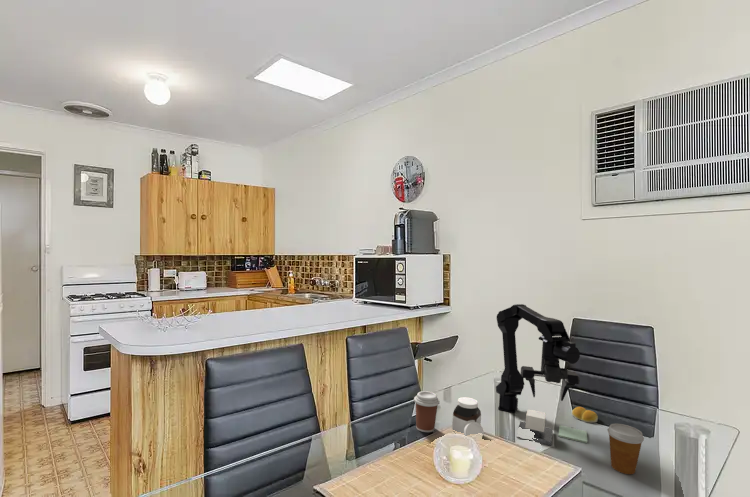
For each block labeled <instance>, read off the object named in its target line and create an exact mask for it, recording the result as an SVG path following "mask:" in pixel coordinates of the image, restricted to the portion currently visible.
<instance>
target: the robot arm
mask: <svg viewBox="0 0 750 497" xmlns="http://www.w3.org/2000/svg"><path fill="white" fill-rule="evenodd" d="M522 319H523V320H525V321H527V322H529V323H530V324H532V325H533V326H535V327H536V328H537V331H538V332H539V333H540V334H541V336H539V337H538V340H540V341H542V345H541V346H542V347H541V363H540V364H541V365H540V370H536V369H534V368H533V366H525V365H522V366H521V367H520V371H519V369H518V368H519V367H518V356H517V342H516V331H517V330H518V329H519V325H520V324H519V321H520V320H522ZM496 323H497V327H498V329H499V330H500V332H501V334H502V347H503V348H502V349H503V350H502V351H503V362H504V369H503V371H502V373H501V375H500V382H499V383H498V384H497V385H496V386H495V393H497V394H498V395H499V402H498V408H497V410H500V411H504V412H509V413H513V414H515V413H516V411H517V410H518V405H519V398H518V397H517V396H521V395H522V391H523V390H524V386H525V381H524V380H526V381H528V383H529V385H530V389H531V393H532V396H533V398H535V397H536V387H535V384H536V379H535V377H541V378H544V379H545V381H546V383H547V382H548V383H556V384H561V388H560V401H561V402H563V401H564V399H565V396H566V394H567V392H568V391H569V390H570V388H571V387H575V386H576V385H580V380H581V379H580V376H579V375H578V374H577V373H576V372H575V371H570V370H568V368H563V367H560V361H562V362H565V363H568V364H570V365H574V364H576V363H577V362H579V360H580V357H581V352H580V350H579V348H578V347H577V343H576V342H571V339H570V337H569V334H568V332H567V330H566V327H565V325H564V322H563V321H562V320H561V319H558V318H553V317H548V316H545V315H543V314H541V313H539V312H537V311H535V310H534V309H531V308H530V307H528V306H527V305H526V304H524V303H523V304H522V303H521V304H520V303H518V304H517V303H515V304H513V305H511V306H510V307H508V308H505V309H503V310H500V311H498V313H497V314H496Z"/></svg>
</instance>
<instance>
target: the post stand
mask: <svg viewBox="0 0 750 497" xmlns="http://www.w3.org/2000/svg"><path fill="white" fill-rule="evenodd" d="M525 426H526V421H525V422H524V421H520V422H519V425H518V428H519V427H521V428H522V429H528V428H525ZM530 431H532V432H534V433H535V435H534V438H536V439H533V438H532V439H533V440H534V441H535V442H534V443H538V444H542V445H545V446H549V447H551V446H552V441H553V440H552V439H553V431H554V428H552V427H551V428H550V427H547V426H545V429H544V432H541V431H536V430H532V429H530ZM537 439H538V440H537Z"/></svg>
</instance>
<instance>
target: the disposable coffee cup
mask: <svg viewBox="0 0 750 497" xmlns="http://www.w3.org/2000/svg"><path fill="white" fill-rule="evenodd" d="M607 432H608V436H609V438H608V440H609V451H610V464H611V465H610V467H612V469H614V470H615V471H616V472H619V473H621V474H624V475H634V474H636V469H637V465H638V460H639V458H640V457H639V456H640V452H641V448H642V443H643V441H644V440H645V437H644V435H643V431H641V430H639V429H638V428H636V427H634V426H631V425H628V424H623V423H610V425H609V426H608V428H607Z"/></svg>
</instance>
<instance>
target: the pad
mask: <svg viewBox="0 0 750 497" xmlns="http://www.w3.org/2000/svg"><path fill="white" fill-rule="evenodd" d="M558 437H560V438H562V439H568V440H572V441H575V442H580V443H583V444H588V431H587V430H583V429H578V428H574V427H570V426H565V425H560V424H559V427H558Z"/></svg>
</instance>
